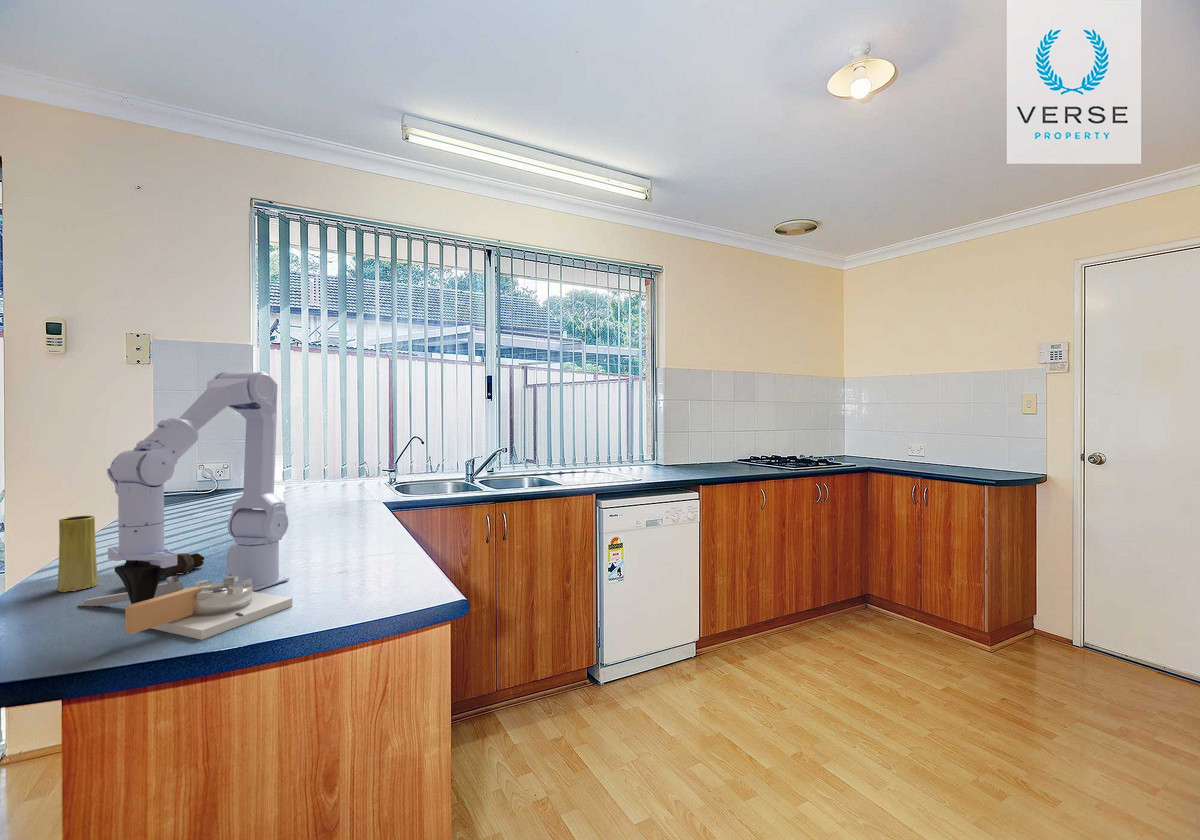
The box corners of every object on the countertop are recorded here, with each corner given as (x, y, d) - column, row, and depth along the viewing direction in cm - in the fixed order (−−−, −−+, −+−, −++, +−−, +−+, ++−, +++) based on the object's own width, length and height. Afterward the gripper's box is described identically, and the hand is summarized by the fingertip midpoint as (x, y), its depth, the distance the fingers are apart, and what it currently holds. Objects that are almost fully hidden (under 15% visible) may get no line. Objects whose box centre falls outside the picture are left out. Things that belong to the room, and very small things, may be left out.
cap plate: (137, 625, 91) (137, 615, 91) (232, 595, 106) (232, 586, 106) (201, 639, 85) (201, 629, 85) (292, 606, 100) (292, 596, 100)
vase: (49, 590, 108) (49, 519, 108) (88, 581, 114) (87, 514, 114) (66, 594, 106) (66, 521, 106) (104, 585, 112) (104, 516, 112)
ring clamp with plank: (227, 591, 102) (227, 570, 102) (265, 598, 98) (265, 576, 98) (109, 628, 84) (108, 602, 84) (150, 637, 81) (149, 611, 81)
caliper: (185, 609, 99) (185, 575, 99) (180, 611, 98) (180, 576, 98) (82, 606, 101) (82, 572, 100) (76, 608, 99) (76, 574, 99)
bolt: (202, 575, 125) (136, 594, 110) (186, 564, 126) (119, 581, 111) (213, 554, 125) (149, 570, 110) (197, 542, 125) (132, 557, 111)
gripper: (84, 524, 87) (85, 608, 87) (141, 532, 82) (142, 621, 82) (135, 517, 94) (136, 595, 94) (191, 523, 89) (191, 606, 89)
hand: (142, 606), depth 89 cm, fingers closed
